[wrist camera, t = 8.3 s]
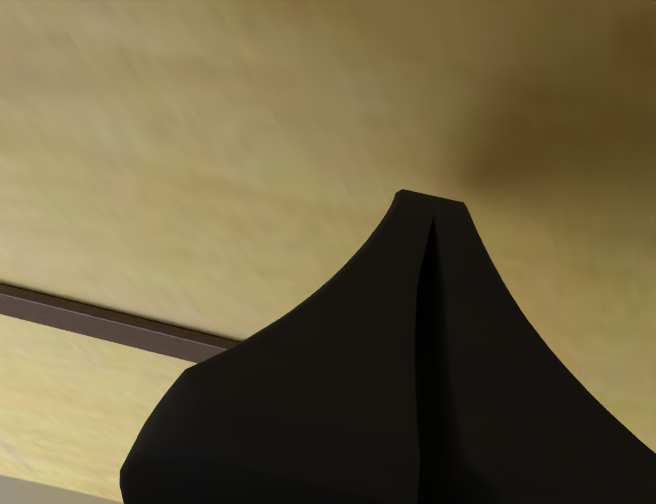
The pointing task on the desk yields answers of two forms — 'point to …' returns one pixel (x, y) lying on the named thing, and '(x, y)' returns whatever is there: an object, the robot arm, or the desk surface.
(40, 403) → the desk surface
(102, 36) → the desk surface
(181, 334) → the fork
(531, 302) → the desk surface
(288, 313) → the robot arm
